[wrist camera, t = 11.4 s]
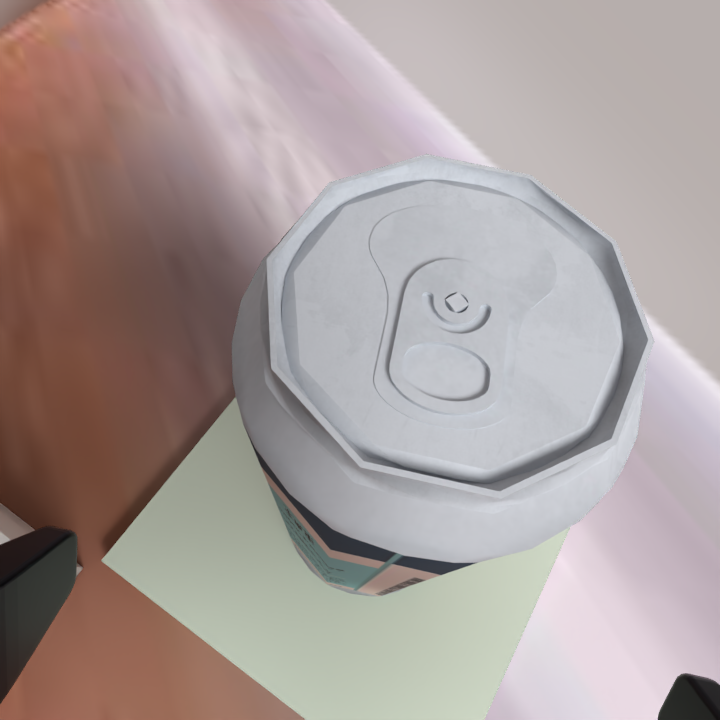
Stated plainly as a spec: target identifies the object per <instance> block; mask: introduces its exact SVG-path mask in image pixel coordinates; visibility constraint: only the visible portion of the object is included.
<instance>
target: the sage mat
mask: <svg viewBox="0 0 720 720" xmlns="http://www.w3.org/2000/svg"><path fill="white" fill-rule="evenodd" d="M570 527H571V526H570ZM570 527H569V528H567V529H565V530H564V531H562V532H560V533H558V534H557V535H555V536H553V537H551V538H550V539H548V540H546V541H545V542H543V543H541V544H539V545H538V546H536V547H534V548H533V549H529V550H526V551H522V552H518V553H514V554H510V555H506V556H502V557H498V558H494V559H490V560H486V561H482V562H478V563H475V564H472V565H470V566H467V567H464V568H461V569H458V570H455V571H452V572H449V573H446V574H443V575H440V576H437V577H434V578H432V579H429V580H426V581H423V582H420V583H417V584H414V585H411V586H408V587H406V588H404V589H402V590H400V591H398V592H394V593H391V594H387V595H384V596H365V595H357V594H350V593H348V592H345V591H342V590H339V589H336V588H334V587H331V586H329V585H327V584H326V583H325V582H324V581H322V580H321V579H320V578H319V577H318V576H316V575H315V574H314V573H313V572H312V571H310V569H309V568H308V566H307V565H306V564H305V562H304V561H303V559H302V558H301V557H300V555H299V554H298V552H297V550H296V548H295V546H294V544H293V542H292V540H291V537H290V535H289V533H288V530H287V528H286V525H285V523H284V521H283V518H282V516H281V513H280V511H279V509H278V506H277V504H276V501H275V499H274V497H273V494H272V492H271V489H270V487H269V485H268V482H267V480H266V477H265V475H264V473H263V470H262V468H261V465H260V463H259V461H258V458H257V456H256V453H255V451H254V449H253V446H252V444H251V441H250V439H249V437H248V434H247V432H246V429H245V427H244V425H243V421H242V417H241V413H240V409H239V406H238V403H237V399H236V397H235V398H234V399H233V401H232V402H231V403H230V404H229V405H228V407H227V408H226V409H225V410H224V412H223V413H222V414H221V415H220V416H219V418H218V419H217V420H216V421H215V422H214V424H213V425H212V426H211V427H210V429H209V430H208V431H207V432H206V433H205V435H204V436H203V437H202V438H201V440H200V441H199V442H198V443H197V444H196V446H195V447H194V448H193V449H192V451H191V452H190V453H189V454H188V455H187V457H186V458H185V459H184V460H183V462H182V463H181V464H180V465H179V466H178V468H177V469H176V470H175V471H174V472H173V474H172V475H171V476H170V477H169V479H168V480H167V481H166V482H165V483H164V485H163V486H162V487H161V488H160V490H159V491H158V492H157V493H156V494H155V496H154V497H153V498H152V499H151V501H150V502H149V503H148V504H147V505H146V507H145V508H144V509H143V510H142V512H141V513H140V514H139V515H138V516H137V518H136V519H135V520H134V521H133V522H132V524H131V525H130V526H129V527H128V529H127V530H126V531H125V532H124V533H123V535H122V536H121V537H120V538H119V540H118V541H117V542H116V543H115V544H114V546H113V547H112V548H111V549H110V551H109V552H108V553H107V554H106V555H105V557H104V558H103V559H102V560H101V561H102V562H103V563H105V564H106V565H107V566H109V567H110V568H111V569H112V570H114V571H115V572H116V573H118V574H119V575H120V576H121V577H123V578H124V579H125V580H127V581H128V582H129V583H130V584H132V585H133V586H134V587H136V588H137V589H138V590H139V591H141V592H142V593H143V594H145V595H146V596H147V597H148V598H150V599H151V600H152V601H154V602H155V603H156V604H157V605H159V606H160V607H161V608H163V609H164V610H165V611H166V612H168V613H169V614H170V615H172V616H173V617H174V618H175V619H177V620H178V621H179V622H181V623H182V624H183V625H185V626H186V627H187V628H188V629H190V630H191V631H192V632H194V633H195V634H196V635H197V636H199V637H200V638H201V639H203V640H204V641H205V642H206V643H208V644H209V645H210V646H212V647H213V648H214V649H215V650H217V651H218V652H219V653H221V654H222V655H223V656H224V657H226V658H227V659H228V660H230V661H231V662H232V663H233V664H235V665H236V666H237V667H239V668H240V669H241V670H242V671H244V672H245V673H246V674H248V675H249V676H250V677H251V678H253V679H254V680H255V681H257V682H258V683H259V684H260V685H262V686H263V687H264V688H266V689H267V690H268V691H270V692H271V693H272V694H273V695H275V696H276V697H277V698H279V699H280V700H281V701H282V702H284V703H285V704H286V705H288V706H289V707H290V708H291V709H293V710H294V711H295V712H297V713H298V714H299V715H300V716H302V717H303V718H304V719H306V720H484V719H485V717H486V715H487V713H488V710H489V708H490V706H491V704H492V701H493V699H494V697H495V695H496V693H497V690H498V688H499V686H500V684H501V681H502V679H503V677H504V675H505V672H506V670H507V668H508V666H509V663H510V661H511V659H512V657H513V654H514V652H515V650H516V648H517V646H518V643H519V641H520V639H521V637H522V634H523V632H524V630H525V628H526V625H527V623H528V621H529V619H530V616H531V614H532V612H533V610H534V607H535V605H536V603H537V601H538V598H539V596H540V594H541V592H542V590H543V587H544V585H545V583H546V581H547V578H548V576H549V574H550V572H551V569H552V567H553V565H554V563H555V560H556V558H557V556H558V554H559V551H560V549H561V547H562V545H563V542H564V540H565V538H566V536H567V534H568V531H569V529H570Z"/></svg>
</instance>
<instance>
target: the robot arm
mask: <svg viewBox="0 0 720 720" xmlns="http://www.w3.org/2000/svg"><path fill="white" fill-rule="evenodd" d="M76 573H77V536H76V534H75V532H73V531H72V530H68V529H64V528H59V527H55V526H45V527H42V528H39V529H37V530H35V531H32V532H30V533H27V534H25V535H22V536H20V537H17V538H15V539H12V540H10V541H7V542H5V543H3V544H0V704H1V702H2V701H3V699H4V698H5V697H6V695H7V694H8V692H9V691H10V689H11V688H12V686H13V685H14V683H15V681H16V680H17V678H18V677H19V675H20V674H21V672H22V670H23V669H24V667H25V666H26V664H27V662H28V661H29V659H30V657H31V656H32V654H33V653H34V651H35V649H36V648H37V646H38V644H39V643H40V641H41V639H42V638H43V636H44V635H45V633H46V631H47V630H48V628H49V626H50V625H51V623H52V622H53V620H54V618H55V617H56V615H57V613H58V612H59V610H60V609H61V607H62V605H63V604H64V602H65V600H66V599H67V597H68V596H69V594H70V592H71V590H72V588H73V586H74V583H75V580H76ZM658 720H720V685H719V684H718V683H716V682H715V681H713V680H711V679H709V678H705V677H701V676H697V675H692V674H688V673H684V674H681V675H680V676H678V677H677V679H676V680H675V682H674V684H673V686H672V688H671V690H670V692H669V694H668V696H667V698H666V700H665V702H664V703H663V705H662V707H661V709H660V712H659V715H658Z"/></svg>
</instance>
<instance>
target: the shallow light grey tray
mask: <svg viewBox="0 0 720 720" xmlns="http://www.w3.org/2000/svg"><path fill="white" fill-rule="evenodd" d="M32 531H35V530H34V529H33V528H32V527H31V526H29V525H28V524H27V523H26V522H24V521H23V520H22V519H20V518H19V517H18V516H17V515H15V514H14V513H13V512H12V511H10V510H9V509H8V508H6V507H5V506H4V505H3V504H1V503H0V544H3V543H5V542H7V541H10V540H12V539H15V538H17V537H20V536H22V535H25V534H27V533H30V532H32ZM82 569H83V567H81V566H80V565H79V564H78V563H77V573H76V576H77V575H78V574H79V573H80V571H81V570H82Z"/></svg>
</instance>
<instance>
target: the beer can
mask: <svg viewBox="0 0 720 720" xmlns="http://www.w3.org/2000/svg"><path fill="white" fill-rule="evenodd" d="M653 344H654V339H653V336H652V333H651V331H650V328H649V326H648V323H647V320H646V318H645V315H644V312H643V310H642V307H641V305H640V302H639V299H638V297H637V294H636V292H635V289H634V286H633V284H632V281H631V278H630V276H629V273H628V271H627V268H626V266H625V263H624V260H623V258H622V255H621V252H620V250H619V247H618V244H617V242H616V241H615V240H614V239H612V238H611V237H610V236H608V235H607V234H606V233H605V232H603V231H602V230H601V229H600V228H598V227H597V226H596V225H594V224H593V223H592V222H591V221H589V220H588V219H587V218H585V217H584V216H583V215H582V214H580V213H579V212H578V211H576V210H575V209H574V208H573V207H571V206H570V205H569V204H567V203H566V202H565V201H563V200H562V199H561V198H560V197H558V196H557V195H556V194H555V193H553V192H552V191H551V190H549V189H548V188H547V187H545V186H544V185H543V184H542V183H540V182H539V181H538V180H537V179H535V178H534V177H533V176H531V175H528V174H523V173H518V172H513V171H508V170H503V169H498V168H493V167H488V166H483V165H478V164H473V163H468V162H464V161H459V160H454V159H449V158H444V157H439V156H434V155H429V154H425V155H422V156H418V157H415V158H411V159H408V160H405V161H401V162H398V163H394V164H391V165H387V166H384V167H381V168H377V169H374V170H370V171H367V172H363V173H360V174H357V175H353V176H350V177H346V178H343V179H339V180H336V181H333V182H329V183H328V185H327V186H326V187H325V188H324V189H323V191H322V192H321V193H320V194H319V196H318V197H317V198H316V199H315V201H314V202H313V203H312V204H311V205H310V207H309V208H308V209H307V210H306V212H305V213H304V214H303V215H302V216H301V218H300V219H299V220H298V221H297V222H296V223H295V225H294V226H293V227H292V228H291V229H290V230H289V231H288V232H287V233H286V235H285V236H284V237H283V238H282V240H281V241H280V243H279V244H278V245H277V246H276V247H275V248H274V249H273V250H272V251H270V252H269V253H268V254H267V255H266V256H265V257H264V258H263V260H262V262H261V264H260V266H259V267H258V269H257V271H256V273H255V275H254V277H253V279H252V281H251V283H250V284H249V286H248V288H247V290H246V292H245V294H244V296H243V298H242V300H241V303H240V307H239V312H238V316H237V321H236V325H235V330H234V334H233V338H232V380H233V386H234V390H235V394H236V399H237V403H238V406H239V409H240V413H241V417H242V421H243V425H244V427H245V429H246V432H247V434H248V437H249V439H250V441H251V444H252V446H253V449H254V451H255V453H256V456H257V458H258V461H259V463H260V465H261V468H262V470H263V473H264V475H265V477H266V480H267V482H268V485H269V487H270V489H271V492H272V494H273V497H274V499H275V501H276V504H277V506H278V509H279V511H280V513H281V516H282V518H283V521H284V523H285V525H286V528H287V530H288V533H289V535H290V537H291V540H292V542H293V544H294V546H295V548H296V550H297V552H298V554H299V555H300V557H301V558H302V559H303V561H304V562H305V564H306V565H307V566H308V568H309V569H310V571H312V572H313V573H314V574H315V575H316V576H318V577H319V578H320V579H321V580H322V581H324V582H325V583H326V584H327V585H329V586H331V587H334V588H336V589H339V590H342V591H345V592H348V593H350V594H357V595H365V596H384V595H387V594H391V593H394V592H398V591H400V590H402V589H404V588H406V587H408V586H411V585H414V584H417V583H420V582H423V581H426V580H429V579H432V578H434V577H437V576H440V575H443V574H446V573H449V572H452V571H455V570H458V569H461V568H464V567H467V566H470V565H472V564H475V563H478V562H482V561H486V560H490V559H494V558H498V557H502V556H506V555H510V554H514V553H518V552H522V551H526V550H529V549H533V548H534V547H536V546H538V545H539V544H541V543H543V542H545V541H546V540H548V539H550V538H551V537H553V536H555V535H557V534H558V533H560V532H562V531H564V530H565V529H567V528H569V527H570V526H572V525H574V524H576V523H577V522H579V521H580V520H581V519H582V518H583V517H584V516H585V515H586V514H587V513H588V512H589V511H590V510H591V509H592V508H593V507H594V506H595V505H596V504H597V503H598V502H599V501H600V499H601V498H602V497H603V496H604V495H605V494H606V493H607V492H608V491H609V490H610V489H611V488H612V487H613V485H614V483H615V482H616V480H617V478H618V476H619V475H620V473H621V471H622V469H623V468H624V465H625V463H626V461H627V459H628V456H629V454H630V452H631V450H632V447H633V445H634V443H635V440H636V438H637V436H638V429H639V421H640V414H641V407H642V399H643V392H644V385H645V374H646V363H647V360H648V358H649V355H650V352H651V349H652V347H653Z"/></svg>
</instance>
